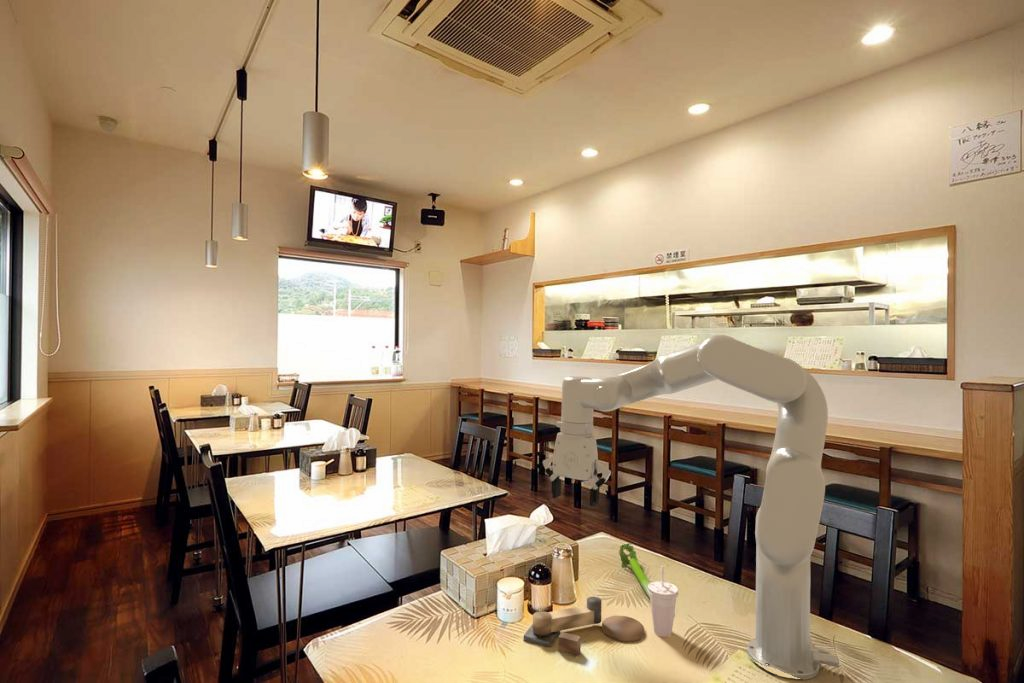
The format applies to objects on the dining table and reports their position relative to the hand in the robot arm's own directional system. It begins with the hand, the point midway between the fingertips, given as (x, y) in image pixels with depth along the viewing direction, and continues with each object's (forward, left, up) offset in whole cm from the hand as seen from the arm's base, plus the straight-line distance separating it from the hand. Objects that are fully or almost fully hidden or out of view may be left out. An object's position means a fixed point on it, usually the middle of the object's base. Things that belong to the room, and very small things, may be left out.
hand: (574, 500), depth 121 cm
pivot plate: (+2, +14, -25) cm, 29 cm away
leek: (-12, -20, -26) cm, 35 cm away
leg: (-2, +10, -24) cm, 26 cm away
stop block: (-5, +17, -25) cm, 31 cm away
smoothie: (-21, +1, -26) cm, 33 cm away
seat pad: (-13, +4, -25) cm, 29 cm away
